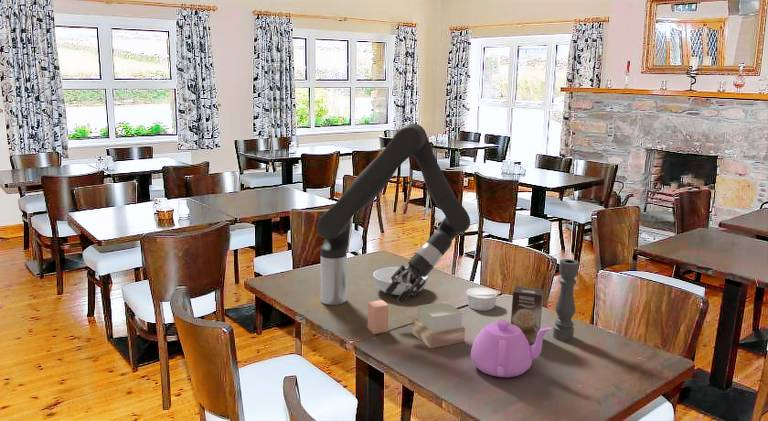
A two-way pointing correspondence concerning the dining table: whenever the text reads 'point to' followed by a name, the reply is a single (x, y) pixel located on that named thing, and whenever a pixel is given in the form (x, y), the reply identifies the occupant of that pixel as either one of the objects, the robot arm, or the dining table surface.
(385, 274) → the serving bowl
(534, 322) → the coffee box
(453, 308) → the tower top block
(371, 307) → the terracotta block
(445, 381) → the dining table surface
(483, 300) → the ramekin
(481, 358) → the teapot
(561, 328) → the candle holder
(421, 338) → the tower base block
